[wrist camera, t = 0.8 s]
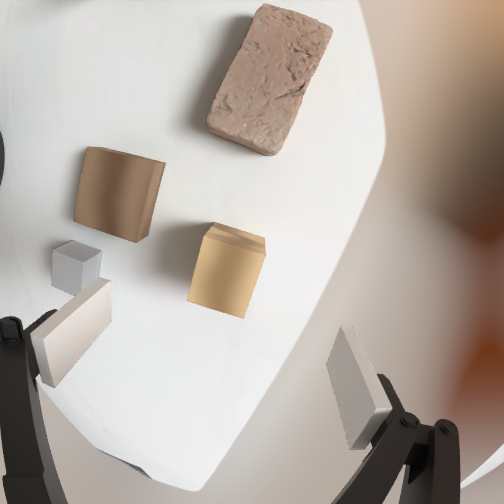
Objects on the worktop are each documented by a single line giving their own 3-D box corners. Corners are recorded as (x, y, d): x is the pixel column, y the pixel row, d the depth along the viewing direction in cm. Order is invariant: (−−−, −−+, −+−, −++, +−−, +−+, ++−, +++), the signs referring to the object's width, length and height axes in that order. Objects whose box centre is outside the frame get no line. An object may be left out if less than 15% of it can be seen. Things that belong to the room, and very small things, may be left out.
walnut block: (89, 215, 35) (73, 221, 31) (103, 147, 32) (87, 146, 28) (148, 234, 35) (136, 243, 31) (166, 162, 33) (155, 162, 29)
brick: (276, 159, 32) (278, 157, 28) (207, 132, 32) (198, 127, 27) (327, 41, 28) (336, 25, 24) (262, 16, 27) (262, -2, 23)
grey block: (70, 272, 37) (51, 285, 32) (73, 239, 35) (52, 249, 31) (98, 284, 37) (80, 298, 32) (102, 250, 36) (83, 262, 31)
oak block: (199, 276, 36) (186, 300, 30) (215, 222, 34) (203, 235, 28) (246, 290, 37) (243, 318, 30) (264, 237, 35) (265, 255, 28)
